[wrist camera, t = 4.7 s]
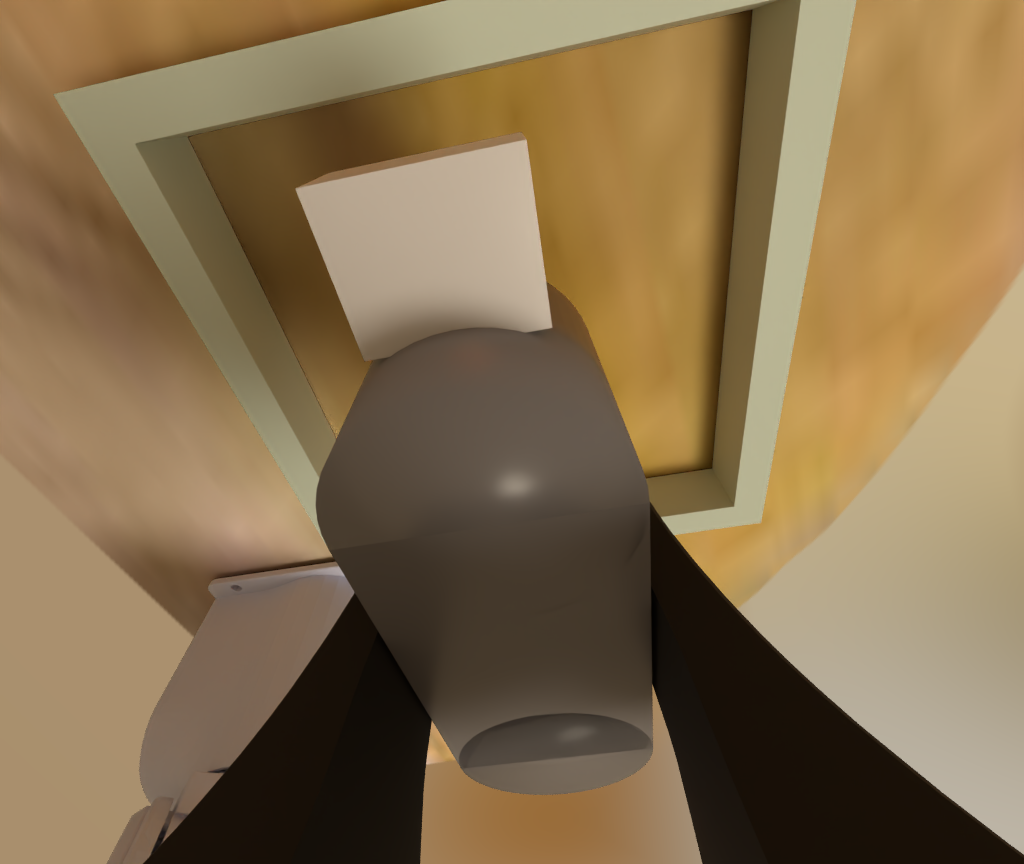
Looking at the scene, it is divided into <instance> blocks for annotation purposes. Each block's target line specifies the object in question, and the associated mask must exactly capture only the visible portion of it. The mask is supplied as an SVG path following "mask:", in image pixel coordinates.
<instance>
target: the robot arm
mask: <svg viewBox="0 0 1024 864" xmlns="http://www.w3.org/2000/svg"><path fill="white" fill-rule="evenodd" d="M650 555H651V633H652V684H653V687H654V690H655V693H656V696H657V699H658V702H659V705H660V708H661V711H662V714H663V717H664V720H665V723H666V726H667V728H668V731H669V735H670V738H671V741H672V745H673V748H674V752H675V755H676V758H677V762H678V766H679V770H680V774H681V778H682V782H683V786H684V790H685V794H686V798H687V802H688V806H689V810H690V814H691V818H692V822H693V826H694V830H695V834H696V839H697V843H698V847H699V851H700V855H701V859H702V863H703V864H1024V855H1023V854H1022V853H1021V852H1019V851H1018V850H1016V849H1015V848H1014V847H1012V846H1011V845H1009V844H1008V843H1007V842H1006V841H1005V840H1003V839H1002V838H1001V837H999V836H998V835H997V834H995V833H994V832H992V830H990V829H989V828H988V827H986V826H985V825H984V824H982V823H981V822H980V821H978V820H977V819H976V818H975V817H973V816H972V815H971V814H969V813H968V812H967V811H965V810H964V809H963V808H961V807H960V806H959V805H958V804H956V803H955V802H954V801H952V800H951V799H950V798H949V797H947V796H946V795H945V794H943V793H942V792H941V791H940V790H938V789H937V788H936V787H935V786H933V785H932V784H931V783H930V782H929V781H927V780H926V779H925V778H924V777H922V776H921V775H920V774H918V772H916V771H915V770H914V769H913V768H911V767H910V766H909V765H908V764H907V763H905V762H904V761H903V760H902V759H900V758H899V757H898V756H897V755H896V754H894V753H893V752H892V751H891V750H889V749H888V748H887V747H886V746H885V745H883V744H882V743H881V742H880V741H878V740H877V739H876V738H875V737H874V736H872V735H871V734H870V733H868V732H867V731H866V730H865V729H864V728H863V727H861V726H860V725H859V724H857V722H855V721H854V720H853V719H852V718H851V717H850V716H849V715H847V714H846V713H845V712H844V711H843V710H842V709H841V708H840V707H838V706H837V705H836V704H835V703H834V702H833V701H832V700H830V699H829V698H828V697H827V696H826V695H825V694H824V693H823V692H821V691H820V690H819V689H818V688H817V687H816V686H815V685H814V684H813V683H812V682H810V681H809V680H808V679H807V678H806V677H805V676H804V675H803V674H802V673H801V672H800V671H798V670H797V669H796V668H795V667H794V666H793V665H792V664H791V663H790V662H789V661H788V660H787V659H786V658H785V657H784V656H783V655H782V654H781V653H780V652H779V651H777V649H776V648H774V647H773V646H772V644H770V643H769V642H768V641H767V640H766V639H765V638H764V637H763V636H762V635H761V634H760V633H759V631H757V629H756V628H755V627H754V626H753V625H752V624H751V623H750V622H749V621H748V620H747V619H746V618H745V617H744V616H743V615H742V614H741V613H740V612H739V611H738V610H737V609H736V607H735V606H734V605H733V604H732V603H731V602H730V601H729V600H728V599H727V598H726V597H725V596H724V594H723V593H722V592H721V591H720V590H719V589H718V588H717V586H716V585H715V584H714V583H713V582H712V581H711V580H710V578H709V577H708V576H707V575H706V574H705V573H704V572H703V570H702V569H701V568H700V567H699V566H698V565H697V563H696V562H695V561H694V560H693V559H692V557H691V556H690V555H689V554H688V552H687V551H686V550H685V549H684V547H683V546H682V545H681V544H680V542H679V541H678V540H677V538H676V537H675V536H674V535H673V533H672V532H671V531H670V529H669V528H668V527H667V525H666V524H665V522H664V521H663V520H662V518H661V517H660V515H659V514H658V512H657V511H656V510H655V508H654V506H653V505H652V503H651V502H650ZM208 590H209V592H210V593H211V594H212V595H213V596H214V597H215V601H214V602H213V604H212V606H211V608H210V610H209V611H208V613H207V615H206V617H205V619H204V620H203V622H202V624H201V626H200V628H199V629H198V631H197V633H196V635H195V637H194V638H193V640H192V642H191V644H190V646H189V648H188V649H187V651H186V653H185V655H184V656H183V658H182V660H181V662H180V664H179V665H178V667H177V669H176V671H175V673H174V674H173V676H172V678H171V680H170V682H169V683H168V685H167V687H166V689H165V691H164V693H163V694H162V696H161V698H160V700H159V701H158V703H157V705H156V707H155V709H154V711H153V713H152V715H151V718H150V720H149V723H148V726H147V728H146V731H145V736H144V740H143V744H142V749H141V756H140V769H139V770H140V781H141V785H142V788H143V791H144V793H145V795H146V797H147V799H148V801H149V802H150V803H151V806H146V807H145V808H143V809H142V810H140V811H138V812H137V813H135V814H134V815H133V816H132V817H131V819H130V820H129V822H128V824H127V826H126V828H125V829H124V831H123V833H122V835H121V837H120V839H119V841H118V843H117V845H116V847H115V849H114V850H113V852H112V854H111V856H110V858H109V860H108V862H107V864H420V853H421V831H422V830H421V829H422V810H423V791H424V779H425V768H426V758H427V751H428V744H429V736H430V729H431V722H432V719H431V718H430V716H429V714H428V713H427V711H426V709H425V708H424V706H423V704H422V703H421V701H420V699H419V698H418V696H417V694H416V693H415V691H414V690H413V688H412V686H411V685H410V683H409V681H408V680H407V678H406V676H405V675H404V673H403V671H402V670H401V668H400V666H399V665H398V663H397V661H396V660H395V658H394V657H393V655H392V653H391V652H390V650H389V648H388V647H387V645H386V643H385V642H384V640H383V638H382V637H381V635H380V633H379V632H378V630H377V628H376V627H375V625H374V623H373V622H372V620H371V619H370V617H369V615H368V614H367V612H366V610H365V609H364V607H363V605H362V604H361V602H360V600H359V599H358V597H357V595H356V594H355V592H354V590H353V589H352V587H351V585H350V584H349V582H348V581H347V579H346V577H345V576H344V574H343V572H342V571H341V569H340V567H339V566H338V564H337V562H330V563H323V564H316V565H309V566H302V567H295V568H288V569H281V570H274V571H267V572H260V573H253V574H247V575H240V576H233V577H226V578H219V579H214V580H212V581H211V583H210V584H209V586H208Z"/></svg>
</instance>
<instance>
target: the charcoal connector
mask: <svg viewBox="0 0 1024 864" xmlns="http://www.w3.org/2000/svg"><path fill="white" fill-rule="evenodd" d="M295 189H296V192H297V194H298V197H299V199H300V202H301V204H302V207H303V209H304V212H305V214H306V217H307V219H308V222H309V224H310V227H311V229H312V232H313V234H314V237H315V239H316V242H317V244H318V247H319V249H320V252H321V254H322V257H323V259H324V262H325V264H326V267H327V269H328V272H329V274H330V277H331V279H332V282H333V284H334V287H335V289H336V292H337V294H338V297H339V299H340V302H341V304H342V307H343V309H344V312H345V314H346V317H347V319H348V322H349V324H350V327H351V329H352V332H353V334H354V337H355V339H356V342H357V344H358V347H359V349H360V351H361V354H362V356H363V359H364V361H370V360H373V361H372V363H371V365H370V368H369V370H368V372H367V374H366V376H365V378H364V381H363V383H362V385H361V387H360V389H359V391H358V394H357V396H356V398H355V400H354V402H353V404H352V406H351V409H350V411H349V413H348V415H347V417H346V419H345V422H344V424H343V426H342V428H341V430H340V432H339V435H338V437H337V439H336V441H335V443H334V445H333V448H332V450H331V452H330V454H329V456H328V458H327V461H326V463H325V465H324V467H323V469H322V471H321V474H320V478H319V482H318V485H317V490H316V504H315V506H316V514H317V521H318V525H319V528H320V531H321V534H322V537H323V539H324V541H325V543H326V545H327V547H328V549H329V551H330V552H331V554H332V556H333V557H334V559H335V561H336V562H337V564H338V566H339V567H340V569H341V571H342V572H343V574H344V576H345V577H346V579H347V581H348V582H349V584H350V585H351V587H352V589H353V590H354V592H355V594H356V595H357V597H358V599H359V600H360V602H361V604H362V605H363V607H364V609H365V610H366V612H367V614H368V615H369V617H370V619H371V620H372V622H373V623H374V625H375V627H376V628H377V630H378V632H379V633H380V635H381V637H382V638H383V640H384V642H385V643H386V645H387V647H388V648H389V650H390V652H391V653H392V655H393V657H394V658H395V660H396V661H397V663H398V665H399V666H400V668H401V670H402V671H403V673H404V675H405V676H406V678H407V680H408V681H409V683H410V685H411V686H412V688H413V690H414V691H415V693H416V694H417V696H418V698H419V699H420V701H421V703H422V704H423V706H424V708H425V709H426V711H427V713H428V714H429V716H430V718H431V719H432V721H433V723H434V724H435V726H436V728H437V729H438V731H439V732H440V734H441V736H442V737H443V739H444V741H445V742H446V744H447V746H448V747H449V749H450V751H451V752H452V754H453V756H454V757H455V759H456V761H457V762H458V764H459V765H460V767H461V769H462V770H463V771H464V773H465V774H466V775H468V776H469V777H470V778H471V779H473V780H475V781H476V782H479V783H481V784H483V785H485V786H488V787H491V788H494V789H498V790H502V791H507V792H513V793H520V794H534V795H551V794H552V795H553V794H567V793H575V792H581V791H586V790H592V789H596V788H600V787H603V786H607V785H610V784H612V783H615V782H618V781H620V780H623V779H625V778H627V777H629V776H631V775H632V774H634V773H636V772H637V771H638V770H640V769H641V768H642V767H643V766H644V765H645V764H646V763H647V762H648V761H649V759H650V757H651V755H652V752H653V713H652V633H651V555H650V500H649V491H648V485H647V482H646V478H645V475H644V472H643V469H642V467H641V464H640V462H639V459H638V456H637V454H636V451H635V449H634V446H633V444H632V441H631V439H630V436H629V434H628V431H627V429H626V426H625V423H624V421H623V418H622V416H621V413H620V411H619V408H618V406H617V403H616V401H615V398H614V396H613V393H612V390H611V388H610V385H609V383H608V380H607V378H606V375H605V373H604V370H603V368H602V365H601V363H600V360H599V357H598V355H597V352H596V350H595V347H594V345H593V342H592V340H591V337H590V335H589V332H588V330H587V327H586V325H585V323H584V321H583V319H582V317H581V316H580V314H579V313H578V311H577V310H576V308H575V307H574V305H573V304H572V303H571V302H570V301H569V300H568V299H567V298H566V297H565V296H564V295H563V294H562V293H561V292H560V291H558V290H557V289H556V288H555V287H553V286H552V285H550V284H549V283H547V282H546V278H545V270H544V263H543V256H542V249H541V241H540V234H539V227H538V219H537V212H536V205H535V198H534V190H533V183H532V176H531V168H530V161H529V154H528V147H527V139H526V138H525V137H524V135H523V134H522V132H518V133H514V134H509V135H504V136H499V137H495V138H490V139H485V140H481V141H476V142H471V143H467V144H462V145H457V146H453V147H448V148H443V149H438V150H434V151H429V152H424V153H420V154H415V155H410V156H406V157H401V158H396V159H392V160H387V161H382V162H377V163H373V164H368V165H363V166H359V167H354V168H349V169H345V170H340V171H335V172H331V173H327V174H325V175H323V176H321V177H319V178H317V179H314V180H312V181H310V182H308V183H306V184H304V185H302V186H299V187H297V188H295Z"/></svg>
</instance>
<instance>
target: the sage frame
mask: <svg viewBox="0 0 1024 864" xmlns="http://www.w3.org/2000/svg"><path fill="white" fill-rule="evenodd" d="M855 5H856V0H447V1H443V2H438V3H434V4H430V5H426V6H422V7H417V8H413V9H409V10H405V11H401V12H396V13H392V14H388V15H384V16H380V17H375V18H371V19H367V20H363V21H359V22H354V23H350V24H346V25H342V26H338V27H333V28H329V29H325V30H321V31H317V32H312V33H308V34H304V35H300V36H296V37H291V38H287V39H283V40H279V41H275V42H271V43H266V44H262V45H258V46H254V47H250V48H245V49H241V50H237V51H233V52H229V53H224V54H220V55H216V56H212V57H208V58H203V59H199V60H195V61H191V62H187V63H182V64H178V65H174V66H170V67H166V68H161V69H157V70H153V71H149V72H145V73H140V74H136V75H132V76H128V77H124V78H119V79H115V80H111V81H107V82H103V83H99V84H94V85H90V86H86V87H82V88H78V89H73V90H69V91H65V92H61V93H57V94H53V95H54V97H55V98H56V100H57V101H58V103H59V105H60V106H61V108H62V110H63V111H64V113H65V115H66V116H67V118H68V120H69V121H70V123H71V125H72V126H73V128H74V130H75V131H76V133H77V134H78V136H79V138H80V139H81V141H82V143H83V144H84V146H85V148H86V149H87V151H88V153H89V154H90V156H91V158H92V159H93V161H94V163H95V164H96V166H97V167H98V169H99V171H100V172H101V174H102V176H103V177H104V179H105V181H106V182H107V184H108V186H109V187H110V189H111V191H112V192H113V194H114V196H115V197H116V199H117V201H118V202H119V204H120V205H121V207H122V209H123V210H124V212H125V214H126V215H127V217H128V219H129V220H130V222H131V224H132V225H133V227H134V229H135V230H136V232H137V234H138V235H139V237H140V238H141V240H142V242H143V243H144V245H145V247H146V248H147V250H148V252H149V253H150V255H151V257H152V258H153V260H154V262H155V263H156V265H157V267H158V268H159V270H160V271H161V273H162V275H163V276H164V278H165V280H166V281H167V283H168V285H169V286H170V288H171V290H172V291H173V293H174V295H175V296H176V298H177V300H178V301H179V303H180V304H181V306H182V308H183V309H184V311H185V313H186V314H187V316H188V318H189V319H190V321H191V323H192V324H193V326H194V328H195V329H196V331H197V333H198V334H199V336H200V337H201V339H202V341H203V342H204V344H205V346H206V347H207V349H208V351H209V352H210V354H211V356H212V357H213V359H214V361H215V362H216V364H217V366H218V367H219V369H220V370H221V372H222V374H223V375H224V377H225V379H226V380H227V382H228V384H229V385H230V387H231V389H232V390H233V392H234V394H235V395H236V397H237V399H238V400H239V402H240V403H241V405H242V407H243V408H244V410H245V412H246V413H247V415H248V417H249V418H250V420H251V422H252V423H253V425H254V427H255V428H256V430H257V432H258V433H259V435H260V436H261V438H262V440H263V441H264V443H265V445H266V446H267V448H268V450H269V451H270V453H271V455H272V456H273V458H274V460H275V461H276V463H277V465H278V466H279V468H280V469H281V471H282V473H283V474H284V476H285V478H286V479H287V481H288V483H289V484H290V486H291V488H292V489H293V491H294V493H295V494H296V496H297V498H298V499H299V501H300V502H301V504H302V506H303V507H304V509H305V511H306V512H307V514H308V516H309V517H310V519H311V521H312V522H313V524H314V526H315V527H316V529H317V531H318V532H319V534H320V535H321V537H322V534H321V531H320V528H319V525H318V521H317V514H316V506H315V504H316V490H317V485H318V482H319V478H320V474H321V471H322V469H323V467H324V465H325V463H326V461H327V458H328V456H329V454H330V452H331V450H332V448H333V445H334V443H335V441H336V438H335V436H334V433H333V431H332V429H331V427H330V425H329V423H328V421H327V419H326V417H325V415H324V413H323V411H322V409H321V407H320V405H319V403H318V401H317V399H316V397H315V395H314V393H313V391H312V389H311V387H310V385H309V383H308V381H307V379H306V377H305V375H304V373H303V371H302V368H301V366H300V364H299V362H298V360H297V358H296V356H295V354H294V352H293V350H292V348H291V346H290V344H289V342H288V340H287V338H286V336H285V334H284V332H283V330H282V328H281V326H280V324H279V322H278V320H277V318H276V316H275V314H274V312H273V310H272V308H271V306H270V303H269V301H268V299H267V297H266V295H265V293H264V291H263V289H262V287H261V285H260V283H259V281H258V279H257V277H256V275H255V273H254V271H253V269H252V267H251V265H250V263H249V261H248V259H247V257H246V255H245V253H244V251H243V249H242V247H241V245H240V243H239V240H238V238H237V236H236V234H235V232H234V230H233V228H232V226H231V224H230V222H229V220H228V218H227V216H226V214H225V212H224V210H223V208H222V206H221V204H220V202H219V200H218V198H217V196H216V194H215V192H214V190H213V188H212V186H211V184H210V182H209V180H208V178H207V175H206V173H205V171H204V169H203V167H202V165H201V163H200V161H199V159H198V157H197V155H196V153H195V151H194V149H193V147H192V145H191V143H190V141H189V139H188V136H192V135H196V134H201V133H205V132H210V131H214V130H219V129H223V128H228V127H232V126H236V125H241V124H245V123H250V122H254V121H259V120H263V119H268V118H272V117H276V116H281V115H285V114H290V113H294V112H299V111H303V110H308V109H312V108H316V107H321V106H325V105H330V104H334V103H339V102H343V101H348V100H352V99H356V98H361V97H365V96H370V95H374V94H379V93H383V92H388V91H392V90H396V89H401V88H405V87H410V86H414V85H419V84H423V83H428V82H432V81H436V80H441V79H445V78H450V77H454V76H459V75H463V74H468V73H472V72H476V71H481V70H485V69H490V68H494V67H499V66H503V65H508V64H512V63H516V62H521V61H525V60H530V59H534V58H539V57H543V56H548V55H552V54H556V53H561V52H565V51H570V50H574V49H579V48H583V47H588V46H592V45H596V44H601V43H605V42H610V41H614V40H619V39H623V38H628V37H632V36H636V35H641V34H645V33H650V32H654V31H659V30H663V29H668V28H672V27H676V26H681V25H685V24H690V23H694V22H699V21H703V20H707V19H712V18H716V17H721V16H725V15H730V14H734V13H739V12H743V11H747V10H752V9H753V11H752V22H751V34H750V45H749V56H748V68H747V79H746V90H745V102H744V113H743V124H742V136H741V147H740V158H739V170H738V181H737V192H736V204H735V215H734V226H733V238H732V249H731V260H730V272H729V283H728V294H727V306H726V317H725V328H724V340H723V351H722V362H721V374H720V385H719V396H718V408H717V419H716V430H715V442H714V453H713V464H712V469H705V470H699V471H692V472H685V473H679V474H672V475H666V476H659V477H652V478H646V482H647V485H648V491H649V500H650V502H651V503H652V505H653V506H654V508H655V510H656V511H657V512H658V514H659V515H660V517H661V518H662V520H663V521H664V522H665V524H666V525H667V527H668V528H669V529H670V531H671V532H672V533H673V535H677V534H685V533H692V532H699V531H706V530H713V529H720V528H727V527H734V526H741V525H748V524H755V523H761V520H762V514H763V509H764V503H765V498H766V492H767V487H768V481H769V476H770V470H771V465H772V459H773V454H774V448H775V443H776V437H777V432H778V427H779V421H780V416H781V410H782V405H783V399H784V394H785V388H786V383H787V377H788V372H789V366H790V361H791V355H792V350H793V344H794V339H795V333H796V328H797V322H798V317H799V311H800V306H801V301H802V295H803V290H804V284H805V279H806V273H807V268H808V262H809V257H810V251H811V246H812V240H813V235H814V229H815V224H816V218H817V213H818V207H819V202H820V196H821V191H822V185H823V180H824V175H825V169H826V164H827V158H828V153H829V147H830V142H831V136H832V131H833V125H834V120H835V114H836V109H837V103H838V98H839V92H840V87H841V81H842V76H843V70H844V65H845V59H846V54H847V49H848V43H849V38H850V32H851V27H852V21H853V16H854V10H855ZM322 539H323V537H322ZM323 540H324V539H323ZM324 542H325V541H324ZM325 544H326V543H325Z"/></svg>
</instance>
